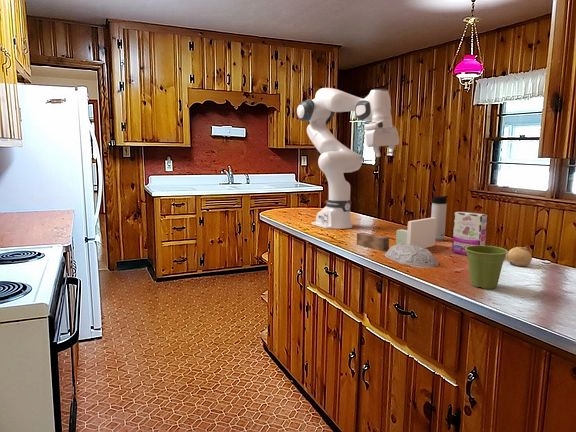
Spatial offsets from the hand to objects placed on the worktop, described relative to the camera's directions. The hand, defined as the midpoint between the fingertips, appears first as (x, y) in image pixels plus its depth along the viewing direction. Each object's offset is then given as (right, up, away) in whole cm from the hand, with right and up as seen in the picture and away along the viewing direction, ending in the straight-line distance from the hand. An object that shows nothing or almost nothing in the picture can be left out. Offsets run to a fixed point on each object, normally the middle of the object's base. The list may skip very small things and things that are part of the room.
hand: (384, 156), depth 199 cm
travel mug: (+24, -38, +1) cm, 45 cm away
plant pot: (+16, -48, -65) cm, 82 cm away
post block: (+9, -40, -13) cm, 43 cm away
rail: (-8, -40, -15) cm, 44 cm away
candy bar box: (+27, -42, -26) cm, 56 cm away
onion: (+39, -45, -40) cm, 72 cm away
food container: (+2, -44, -34) cm, 56 cm away
